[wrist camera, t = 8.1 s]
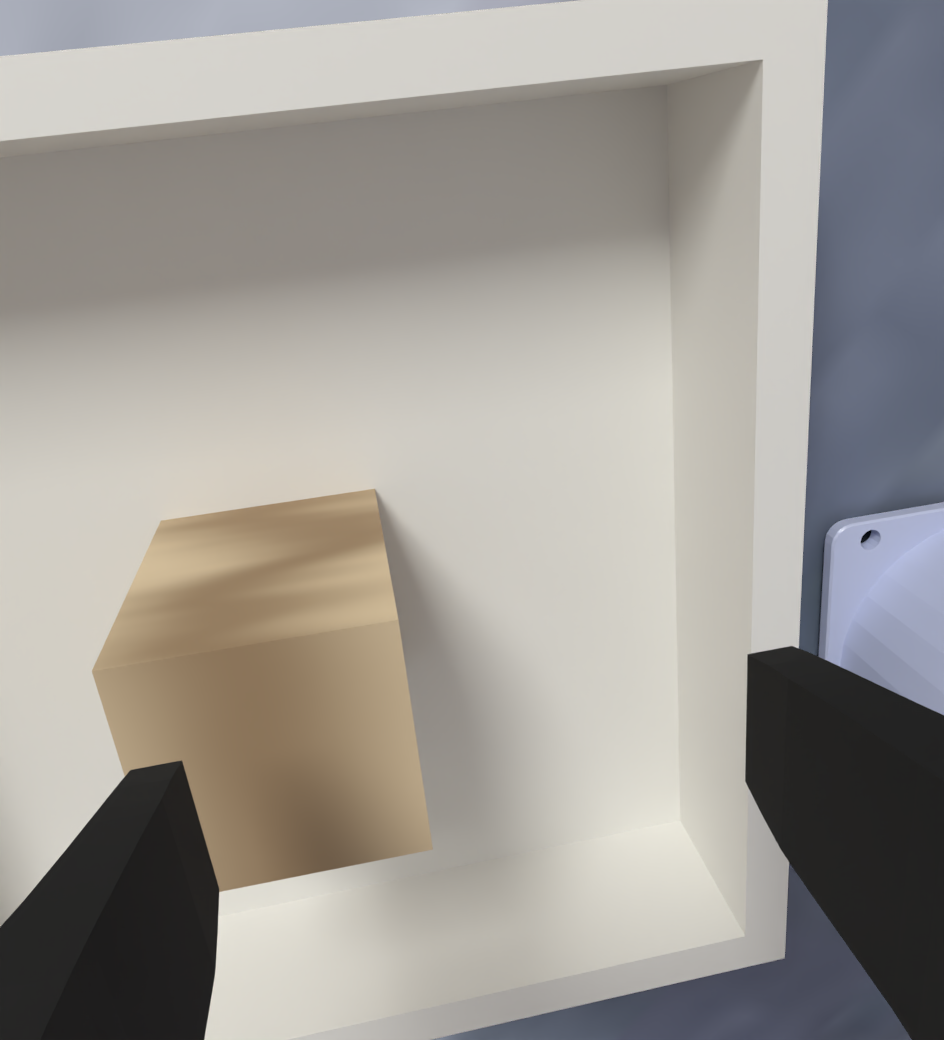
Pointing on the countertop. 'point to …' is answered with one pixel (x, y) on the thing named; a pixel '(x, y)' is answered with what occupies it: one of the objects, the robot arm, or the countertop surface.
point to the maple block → (272, 686)
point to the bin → (436, 459)
